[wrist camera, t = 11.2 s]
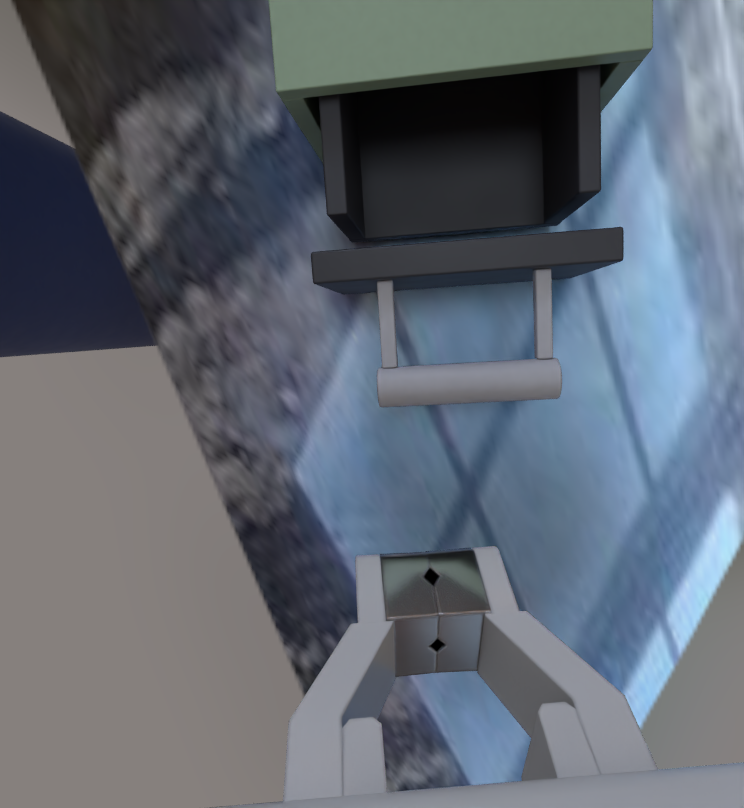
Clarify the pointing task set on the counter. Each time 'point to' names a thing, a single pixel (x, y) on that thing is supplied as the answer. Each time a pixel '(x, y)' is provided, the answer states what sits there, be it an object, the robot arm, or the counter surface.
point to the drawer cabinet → (445, 44)
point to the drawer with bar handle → (464, 209)
